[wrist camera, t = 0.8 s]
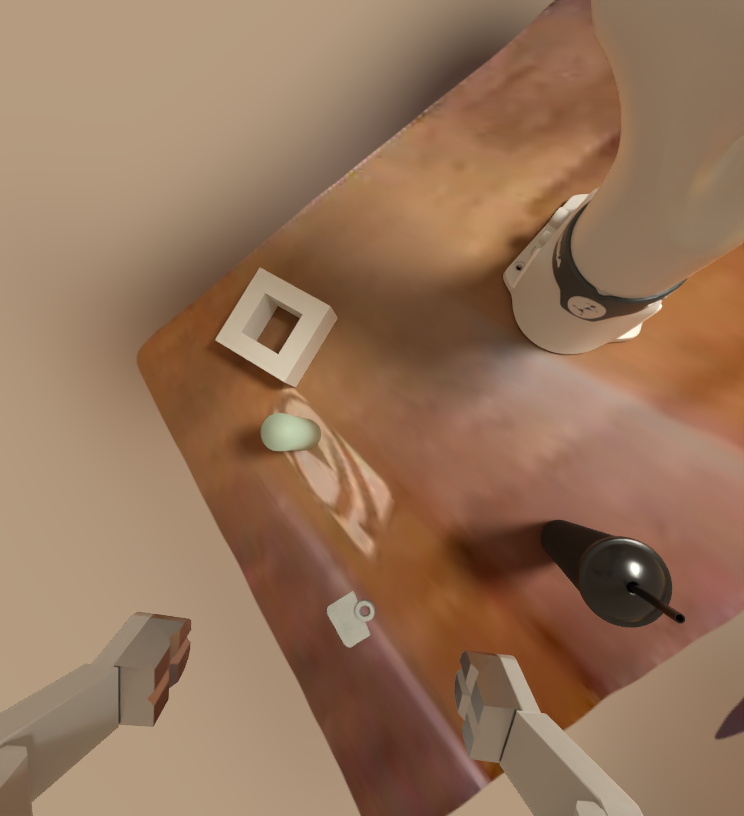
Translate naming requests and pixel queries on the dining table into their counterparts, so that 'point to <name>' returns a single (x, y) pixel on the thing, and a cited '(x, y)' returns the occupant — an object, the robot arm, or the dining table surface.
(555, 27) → the dining table surface
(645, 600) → the drinking cup
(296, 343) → the well block
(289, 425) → the green dowel
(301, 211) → the dining table surface
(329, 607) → the mounting bracket
